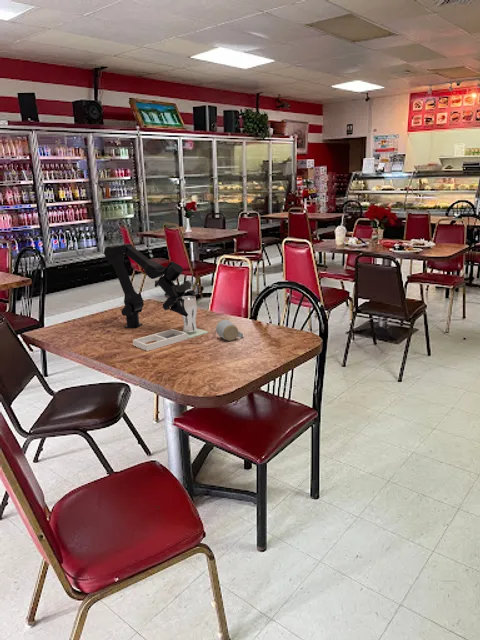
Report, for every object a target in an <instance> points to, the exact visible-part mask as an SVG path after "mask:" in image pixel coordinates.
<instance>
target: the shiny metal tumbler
mask: <svg viewBox="0 0 480 640" xmlns="http://www.w3.org/2000/svg"><path fill="white" fill-rule="evenodd" d="M180 302H181V306H182V307H183V309H184V310H185V311H186V313H187V314H188V316H187V317H185V316H183V315H181V316H182V320H183V330H182V331H184V332H195V331H197V329H198V328H197V327H198V326H197V324H196V322H197V321H196V320H197V311H198V309H197V308H198V307H197V299H196V296H195V295H194V296H183V297H181V301H180Z"/></svg>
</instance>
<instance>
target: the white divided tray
mask: <svg viewBox="0 0 480 640" xmlns="http://www.w3.org/2000/svg"><path fill="white" fill-rule="evenodd" d="M209 333H210V332H209V330H208V331H207V330H204V329H200V328H197V331H195V332H184V331H183V330H181V331H180V330H177V329H174V328H171V329H168V330H164V331H160V332H157V333H153V334H149V335H147V336H143V337H139V338H135V339H133V340H132V344H133V345H134V347H135V346H136V348H138V349H140V348H141V350H143V351H145V350H146V351H145V352H149V350H150V351H154V350H155V349H159V348H162V347H165V346H169V345H173V344H175V343H180V342H182V341H186V340H188V339H193V338H196V337H199V336H204V335H205V334H209ZM153 341H155V342H153Z"/></svg>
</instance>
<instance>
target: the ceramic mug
mask: <svg viewBox="0 0 480 640" xmlns="http://www.w3.org/2000/svg"><path fill="white" fill-rule="evenodd" d="M215 331H216V333H217V335H218V336H219V337H221V338H222V339H224V340H225V341H227V342H231V341H234V340H236V339H237V338H242V339H243V337H244V333H243V332H241V331H239V328H238V327H237V326H236V325H235V324H234V323H232V322H231V321H230V320H228V319H221V320H220V321H219V322H218V323H217V324H216V328H215Z"/></svg>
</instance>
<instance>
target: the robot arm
mask: <svg viewBox="0 0 480 640" xmlns="http://www.w3.org/2000/svg"><path fill="white" fill-rule="evenodd" d="M103 254H104V256H105V259H106V261H107V262H108V263H109V264H110V265H111V266H113V268H114V272H115V275H116V276H117V279H118V282H119V284H120V287H121V289H122V292H123V294H124V298H123V303H124V307H123V308H122V309H121V310H120V312H121V315H122V316H123V317H126V319H125V320H126V325H125V326H123V327H124V328H126V329H137V328H139V327H141V326H142V325H143V323H142V322H140V317H139V313H142V311H143V308H144V305H145V303H144V301H145V300H144V298H143V296H142V293H140V292H139V293H137V291H136V290H135V289H134V288H135V287H134V286H133V283H132V281H131V278H130V275H129V272H128V271H127V270H128V269H127V268H126V266H125V262H124V261H125V260H124V259H125V256H128V258H130V259H131V260H132V261H133V262H135V263H136V264H137V265H138V266H140V267H141V268H142V269H143V271H144V274H146V276H147V277H148V278H149V279H150V280H154V279H157V280H154V287H155V288H157V287H160V288H161V289H162V291H163V292H164V296H165V297H167V298H166V300H165V301H164V302H163V304H162V309H163V311H168V310H169V311H172V312H174V313H176V314H179V315H181V316H182V315H183V316H185V317H187V316H188V314H187V313H186V311H185V310H184V309H183V307H182V306H181V297H183V296H195V295H197V293H196V291H195V290H194V289H192V283H191V282H190V281H189V280H185V281H183V283H181V284H178V283H177V284H175V283H174V282H175V281H177V280H178V278H180V276H181V275H182V273H183V272H184V269H183V267H182V265H180V264H178V263H176V262H174V261H173V260H172V261H170V262H168V265H167V266H164V265H162V264H161V263H159V262H157V261H154V260H152V259H149V258H148V257H147V256H145V254H143V253H142V252H140V251H139V250H138V249H137V248H136V247H134V245H133V244H132V243H125V244H121V245H118V244H116V245H109V246H106V247H105V248H104V251H103Z"/></svg>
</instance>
